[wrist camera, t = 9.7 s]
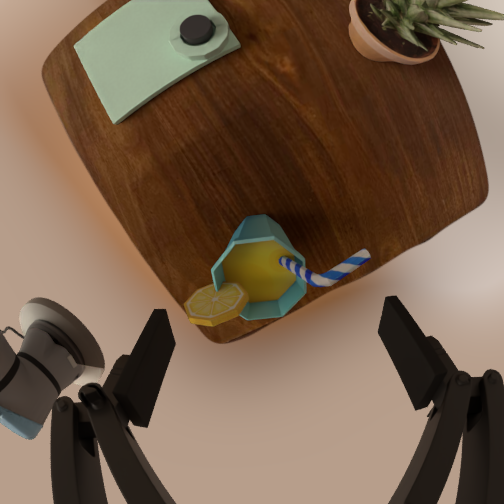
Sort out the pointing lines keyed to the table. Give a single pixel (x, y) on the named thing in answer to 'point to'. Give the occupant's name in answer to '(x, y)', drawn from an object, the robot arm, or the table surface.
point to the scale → (148, 51)
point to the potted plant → (411, 27)
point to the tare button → (196, 29)
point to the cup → (260, 276)
